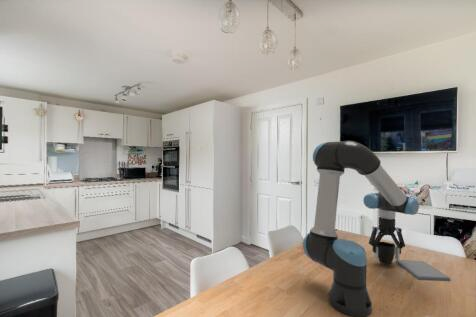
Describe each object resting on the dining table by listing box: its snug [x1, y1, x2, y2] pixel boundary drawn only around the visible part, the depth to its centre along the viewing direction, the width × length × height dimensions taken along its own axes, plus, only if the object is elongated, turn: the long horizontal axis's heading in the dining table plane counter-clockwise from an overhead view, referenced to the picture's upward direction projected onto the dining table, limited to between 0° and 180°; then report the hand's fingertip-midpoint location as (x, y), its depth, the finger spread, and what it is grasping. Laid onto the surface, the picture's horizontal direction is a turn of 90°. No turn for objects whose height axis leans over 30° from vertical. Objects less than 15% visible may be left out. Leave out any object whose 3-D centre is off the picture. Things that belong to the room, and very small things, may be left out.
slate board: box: [395, 259, 451, 282], centre depth 117 cm, size 18×14×1 cm
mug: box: [377, 241, 396, 265], centre depth 124 cm, size 8×12×10 cm
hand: (386, 259), depth 124 cm, fingers closed on mug, 10 cm apart
